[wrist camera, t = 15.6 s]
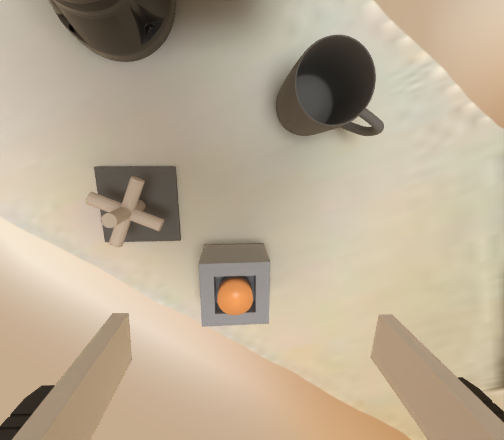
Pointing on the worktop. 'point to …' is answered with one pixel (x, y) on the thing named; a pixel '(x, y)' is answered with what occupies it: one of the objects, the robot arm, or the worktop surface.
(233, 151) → the worktop surface
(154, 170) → the mat
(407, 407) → the robot arm
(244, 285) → the plunger
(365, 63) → the mug
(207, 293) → the housing
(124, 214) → the beige toy jack
